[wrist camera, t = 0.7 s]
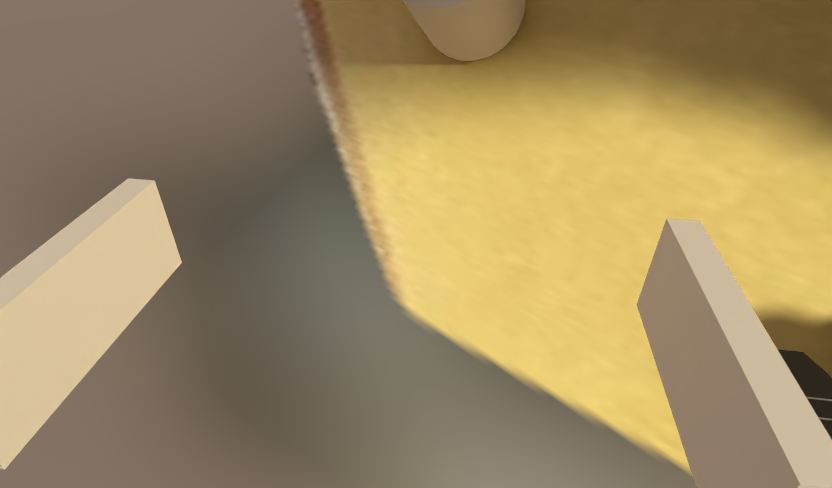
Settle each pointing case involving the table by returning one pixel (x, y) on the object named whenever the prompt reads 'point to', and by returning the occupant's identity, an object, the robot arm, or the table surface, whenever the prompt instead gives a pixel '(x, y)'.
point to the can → (468, 25)
